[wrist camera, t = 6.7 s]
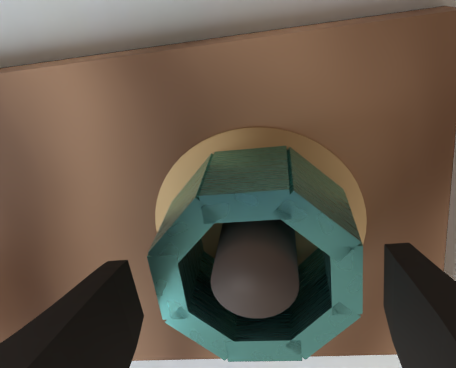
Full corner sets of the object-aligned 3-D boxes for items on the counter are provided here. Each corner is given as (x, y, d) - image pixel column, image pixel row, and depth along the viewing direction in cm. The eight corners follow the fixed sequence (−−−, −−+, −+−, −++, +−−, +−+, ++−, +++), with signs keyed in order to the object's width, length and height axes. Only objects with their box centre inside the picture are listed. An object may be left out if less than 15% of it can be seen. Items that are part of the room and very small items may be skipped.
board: (19, 337, 20) (-47, 428, 16) (-100, 82, 15) (-240, 119, 11) (423, 324, 17) (469, 430, 13) (444, 6, 12) (531, 17, 8)
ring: (190, 296, 16) (173, 362, 13) (161, 156, 13) (132, 200, 11) (346, 290, 15) (362, 359, 12) (344, 140, 12) (363, 184, 10)
